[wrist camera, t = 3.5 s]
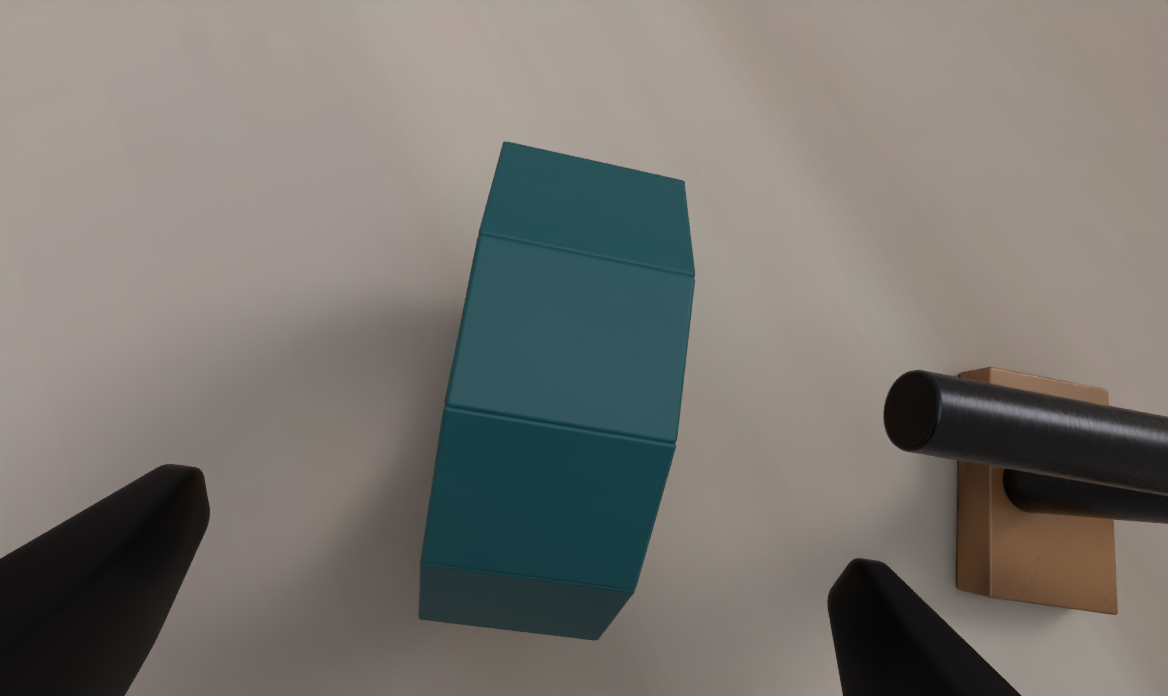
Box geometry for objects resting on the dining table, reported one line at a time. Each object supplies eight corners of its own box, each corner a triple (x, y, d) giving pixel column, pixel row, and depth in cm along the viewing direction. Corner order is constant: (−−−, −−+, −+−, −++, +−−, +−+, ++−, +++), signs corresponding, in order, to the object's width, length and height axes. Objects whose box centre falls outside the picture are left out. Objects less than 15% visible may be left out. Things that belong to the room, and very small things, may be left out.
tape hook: (1017, 513, 23) (1577, 560, 11) (713, 465, 21) (991, 459, 10) (1016, 459, 23) (1554, 451, 11) (719, 408, 22) (990, 338, 10)
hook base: (1077, 606, 22) (1118, 615, 21) (955, 589, 22) (989, 597, 20) (1071, 393, 24) (1108, 389, 23) (958, 372, 23) (989, 366, 22)
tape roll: (559, 581, 20) (646, 716, 9) (442, 566, 19) (386, 689, 8) (606, 265, 22) (719, 73, 11) (502, 244, 21) (520, 24, 11)
